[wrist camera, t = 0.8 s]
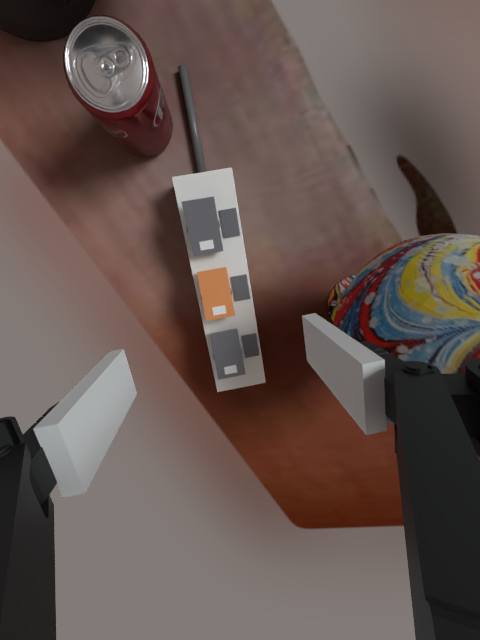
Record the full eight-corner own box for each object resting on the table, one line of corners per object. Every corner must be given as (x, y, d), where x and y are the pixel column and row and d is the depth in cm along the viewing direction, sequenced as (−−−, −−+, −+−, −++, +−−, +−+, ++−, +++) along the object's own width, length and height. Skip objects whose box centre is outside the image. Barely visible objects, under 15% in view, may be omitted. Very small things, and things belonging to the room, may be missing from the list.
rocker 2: (209, 333, 37) (208, 334, 36) (237, 328, 37) (238, 329, 36) (217, 377, 38) (217, 380, 36) (245, 371, 38) (246, 374, 37)
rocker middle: (196, 272, 35) (195, 272, 34) (226, 267, 35) (227, 266, 34) (206, 320, 36) (205, 321, 34) (235, 314, 36) (235, 315, 35)
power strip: (153, 74, 33) (143, 47, 29) (212, 65, 33) (211, 38, 29) (217, 379, 44) (217, 394, 39) (261, 370, 44) (266, 384, 40)
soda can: (130, 168, 35) (89, 131, 24) (100, 105, 33) (40, 31, 22) (183, 145, 35) (168, 96, 24) (156, 80, 33) (126, -7, 22)
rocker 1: (181, 201, 32) (180, 202, 31) (214, 196, 32) (214, 196, 31) (192, 254, 34) (192, 256, 33) (223, 249, 35) (224, 250, 33)
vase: (435, 259, 42) (927, 290, 13) (384, 373, 46) (672, 588, 17) (318, 220, 39) (618, 147, 10) (276, 345, 43) (401, 547, 14)
